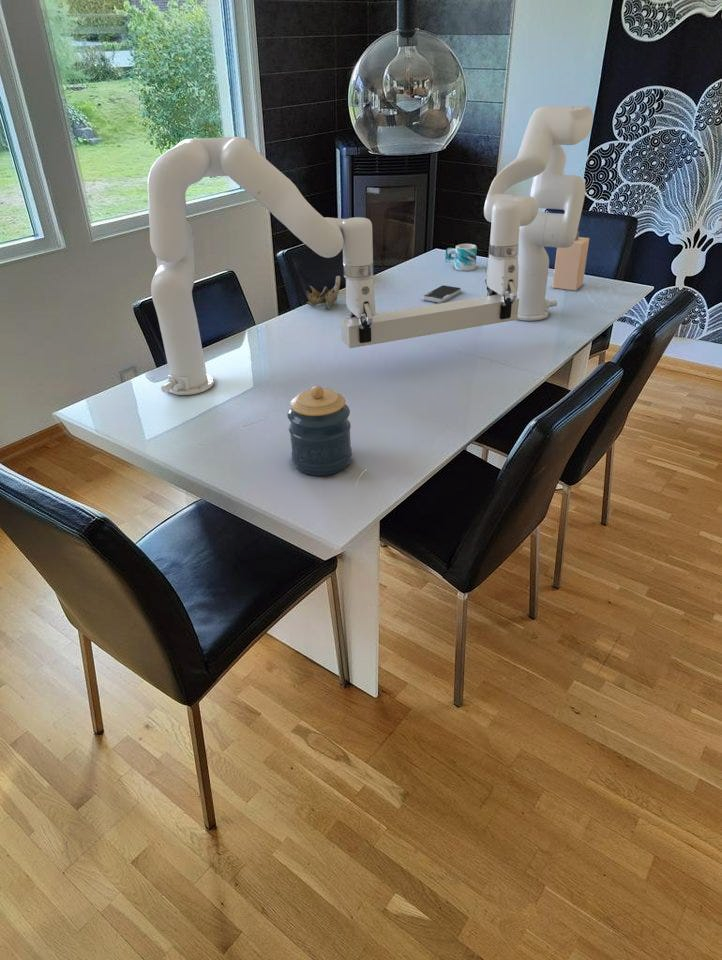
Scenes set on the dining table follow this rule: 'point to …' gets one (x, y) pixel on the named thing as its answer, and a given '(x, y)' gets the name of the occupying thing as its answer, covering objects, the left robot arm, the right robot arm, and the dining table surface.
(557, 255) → the tan upright block
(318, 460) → the canister
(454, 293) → the smartphone
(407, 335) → the beam
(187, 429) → the dining table surface
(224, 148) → the left robot arm
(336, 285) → the jawbone
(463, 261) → the mug
